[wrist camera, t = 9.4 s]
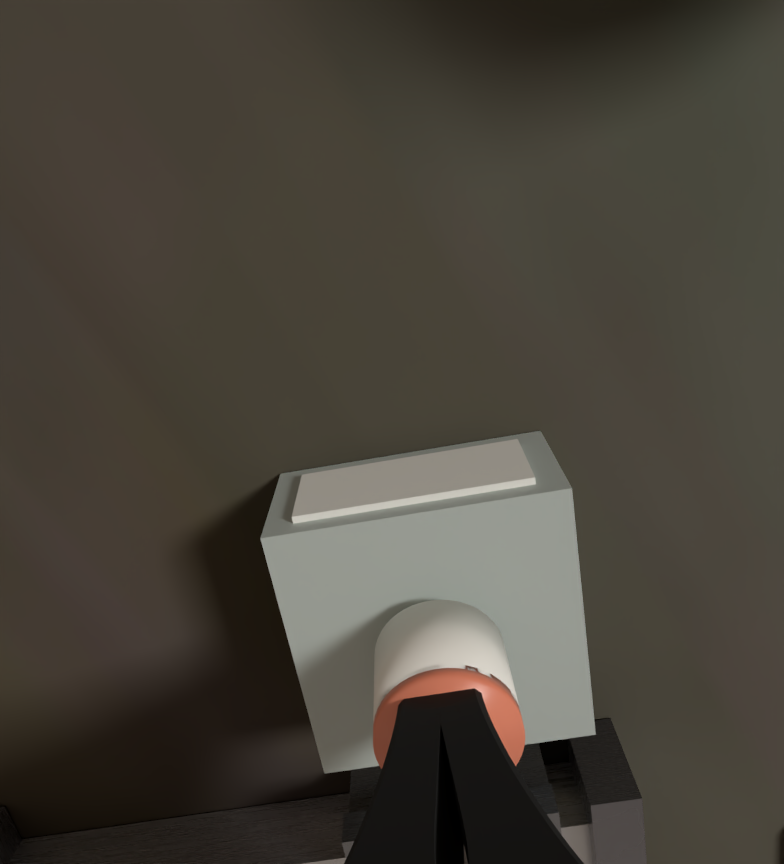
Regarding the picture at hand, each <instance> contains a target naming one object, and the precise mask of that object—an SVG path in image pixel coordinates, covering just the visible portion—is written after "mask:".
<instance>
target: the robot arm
mask: <svg viewBox="0 0 784 864" xmlns="http://www.w3.org/2000/svg"><path fill="white" fill-rule="evenodd" d="M464 847H465V851H466V856H467V861H468V864H584V863H583V862H582V861H581V859H580V858H579V857H578V856H577V854H576V853H575V852H574V851H573V849H572V848H571V847H570V845H569V844H568V843H567V842H566V840H565V839H564V838H563V836H562V835H561V834H560V832H559V831H558V829H557V828H556V827H555V825H554V824H553V823H552V821H551V820H550V818H549V817H548V815H547V814H546V813H545V811H544V810H543V808H542V807H541V805H540V804H539V803H538V801H537V800H536V798H535V796H534V795H533V793H532V792H531V790H530V789H529V787H528V786H527V784H526V782H525V781H524V779H523V778H522V776H521V774H520V773H519V771H518V769H517V768H516V766H515V764H514V763H513V761H512V759H511V758H510V756H509V754H508V752H507V750H506V749H505V747H504V745H503V743H502V741H501V739H500V737H499V735H498V733H497V731H496V729H495V727H494V725H493V723H492V721H491V718H490V716H489V714H488V711H487V709H486V706H485V703H484V700H483V697H482V693H481V692H479V691H478V690H476V689H475V688H473V689H466V690H460V691H453V692H447V693H440V694H433V695H427V696H420V697H413V698H406V699H403V700H402V701H401V702H400V704H399V705H398V709H397V715H396V720H395V725H394V729H393V733H392V737H391V741H390V744H389V748H388V751H387V755H386V758H385V761H384V764H383V767H382V770H381V773H380V776H379V779H378V782H377V785H376V788H375V790H374V793H373V796H372V799H371V802H370V804H369V807H368V809H367V812H366V814H365V816H364V819H363V821H362V824H361V826H360V828H359V831H358V833H357V836H356V838H355V840H354V843H353V845H352V847H351V850H350V852H349V854H348V856H347V858H346V860H345V863H344V864H464Z"/></svg>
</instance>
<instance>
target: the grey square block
mask: <svg viewBox="0 0 784 864" xmlns="http://www.w3.org/2000/svg"><path fill="white" fill-rule="evenodd" d="M260 539H261V543H262V547H263V550H264V554H265V558H266V561H267V565H268V568H269V572H270V576H271V579H272V583H273V587H274V590H275V594H276V598H277V601H278V605H279V609H280V612H281V616H282V620H283V623H284V627H285V631H286V634H287V638H288V642H289V645H290V649H291V653H292V656H293V660H294V664H295V667H296V671H297V675H298V678H299V682H300V686H301V689H302V693H303V697H304V700H305V704H306V708H307V711H308V715H309V719H310V722H311V726H312V730H313V733H314V737H315V741H316V744H317V748H318V752H319V755H320V759H321V763H322V766H323V770H324V774H326V773H333V772H340V771H347V770H354V769H360V768H367V767H374V766H379V764H378V762H377V760H376V757H375V754H374V749H373V711H374V654H375V646H376V642H377V639H378V636H379V634H380V632H381V631H382V629H383V628H384V626H385V625H386V624H387V623H388V622H389V620H390V619H391V618H393V617H394V616H395V615H396V614H398V613H399V612H401V611H402V610H404V609H406V608H408V607H410V606H412V605H415V604H418V603H421V602H425V601H431V600H452V601H458V602H462V603H465V604H468V605H471V606H473V607H475V608H477V609H479V610H480V611H482V612H483V613H485V614H486V615H487V616H488V617H489V618H490V619H491V620H492V621H493V622H494V623H495V625H496V626H497V628H498V629H499V631H500V633H501V635H502V638H503V642H504V646H505V650H506V654H507V658H508V662H509V667H510V671H511V675H512V679H513V683H514V687H515V691H516V696H517V700H518V704H519V708H520V712H521V716H522V720H523V725H524V729H525V745H527V744H534V743H541V742H548V741H555V740H562V739H569V738H576V737H583V736H590V735H596V732H595V722H594V711H593V701H592V691H591V680H590V670H589V660H588V649H587V639H586V629H585V618H584V608H583V598H582V587H581V577H580V567H579V556H578V546H577V536H576V525H575V515H574V505H573V495H572V487H571V486H570V484H569V482H568V480H567V478H566V477H565V475H564V473H563V471H562V469H561V467H560V466H559V464H558V462H557V460H556V458H555V456H554V455H553V453H552V451H551V449H550V447H549V446H548V444H547V442H546V440H545V438H544V436H543V435H542V433H541V431H536V432H530V433H524V434H518V435H512V436H506V437H500V438H494V439H487V440H481V441H475V442H469V443H463V444H457V445H451V446H445V447H439V448H433V449H427V450H421V451H415V452H409V453H403V454H397V455H391V456H385V457H379V458H373V459H367V460H361V461H355V462H349V463H343V464H337V465H331V466H325V467H319V468H313V469H307V470H301V471H295V472H289V473H283V474H280V477H279V480H278V483H277V487H276V490H275V493H274V496H273V500H272V503H271V506H270V509H269V512H268V516H267V519H266V522H265V525H264V528H263V532H262V535H261V538H260Z"/></svg>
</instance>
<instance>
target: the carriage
mask: <svg viewBox="0 0 784 864" xmlns="http://www.w3.org/2000/svg"><path fill="white" fill-rule="evenodd" d="M516 768H517V769H518V771H519V773H520V774H521V776H522V778H523V779H524V781H525V782H526V784H527V786H528V787H529V789H530V790H531V792H532V793H533V795H534V796H535V798H536V800H537V801H538V803H539V804H540V805H541V807H542V808H543V810H544V811H545V813H546V814H547V815H548V817H549V818H550V820H551V821H552V823H553V824H554V825H555V827H556V828H557V829H558V831H559V832H560V834H561V835H562V833H561V825H560V817H559V811H558V807H557V803H556V800H555V796H554V792H553V788H552V784H549V782H548V778H547V774H546V770H545V766H544V762H543V758H542V755H541V751H540V747H539V743H534V744H527V745H525V746H524V750H523V753H522V756H521V758H520V760H519V762H518V764H517V765H516ZM381 770H382V769H381V768H380V766H374V767H367V768H360V769H354V770H351V780H350V800H349V813H343V830H342V846H343V849H344V853H345V857H346V858H347V856H348V854H349V852H350V850H351V847H352V845H353V843H354V840H355V838H356V836H357V833H358V831H359V828H360V826H361V824H362V821H363V819H364V816H365V814H366V812H367V809H368V807H369V804H370V802H371V799H372V796H373V793H374V790H375V788H376V785H377V782H378V779H379V776H380V773H381ZM464 864H468V861H467V856H466V851H465V847H464Z"/></svg>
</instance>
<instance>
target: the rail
mask: <svg viewBox="0 0 784 864" xmlns="http://www.w3.org/2000/svg"><path fill="white" fill-rule="evenodd" d="M594 722H595V732H596V735H590V736H583V737H576V738H569V739H567V744H568V753H569V761H570V762H563V763H556V764H549V765H544V766H545V770H546V774H547V778H548V782H549V784H552V788H553V792H554V796H555V800H556V803H557V807H558V811H559V817H560V825H561V833H562V836H563V838H564V839H565V840H566V842H567V843H568V844H569V845H570V847H571V848H572V849H573V851H574V852H575V853H576V854H577V856H578V857H579V858H580V859H581V861H582V862H583V863H584V864H647V861H646V847H645V833H644V819H643V805H642V797H641V795H640V792H639V789H638V787H637V784H636V782H635V779H634V777H633V774H632V772H631V769H630V767H629V764H628V762H627V759H626V757H625V754H624V752H623V749H622V746H621V744H620V741H619V739H618V736H617V734H616V731H615V729H614V726H613V724H612V721H611V719H610V718H608V719H601V720H594ZM349 800H350V793H345V794H338V795H331V796H324V797H317V798H310V799H303V800H296V801H289V802H282V803H275V804H268V805H261V806H254V807H247V808H240V809H233V810H226V811H219V812H212V813H205V814H198V815H191V816H184V817H177V818H170V819H163V820H156V821H149V822H141V823H134V824H127V825H120V826H113V827H106V828H99V829H92V830H85V831H78V832H71V833H64V834H57V835H50V836H43V837H36V838H29V839H21V837H20V835H19V833H18V831H17V829H16V827H15V825H14V823H13V821H12V819H11V817H10V815H9V813H8V811H7V809H6V806H0V864H344V863H345V860H346V857H345V853H344V849H343V846H342V830H343V813H349Z"/></svg>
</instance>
